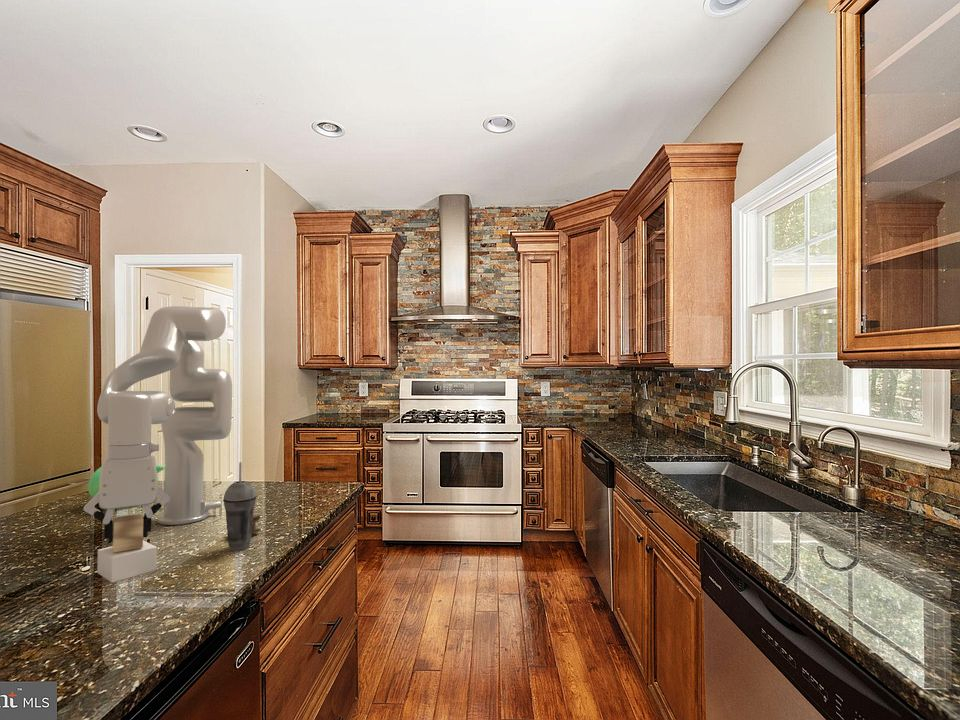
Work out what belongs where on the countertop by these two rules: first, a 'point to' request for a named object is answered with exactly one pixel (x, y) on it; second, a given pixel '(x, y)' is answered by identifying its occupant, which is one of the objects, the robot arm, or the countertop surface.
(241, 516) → the beverage cup
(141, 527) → the oak block
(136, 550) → the white block
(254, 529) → the mushroom
